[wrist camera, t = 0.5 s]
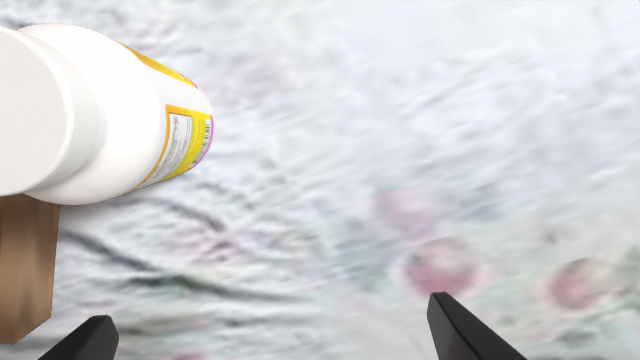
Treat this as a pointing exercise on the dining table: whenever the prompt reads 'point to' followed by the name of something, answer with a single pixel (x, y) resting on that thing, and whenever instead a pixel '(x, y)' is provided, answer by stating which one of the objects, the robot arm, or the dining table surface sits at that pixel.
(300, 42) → the dining table surface
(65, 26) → the supplement bottle
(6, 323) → the walnut tray
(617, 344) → the dining table surface
